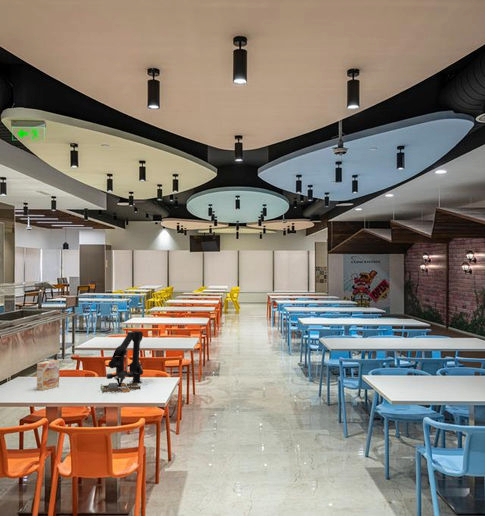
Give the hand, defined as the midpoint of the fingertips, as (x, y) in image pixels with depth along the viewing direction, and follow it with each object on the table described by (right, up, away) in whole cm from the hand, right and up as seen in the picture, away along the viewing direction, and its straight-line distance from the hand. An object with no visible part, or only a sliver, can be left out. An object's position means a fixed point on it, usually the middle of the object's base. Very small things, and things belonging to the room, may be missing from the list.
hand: (119, 387), depth 356 cm
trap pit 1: (-1, -2, +10) cm, 10 cm away
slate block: (-5, -1, -1) cm, 5 cm away
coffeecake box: (-54, -1, +2) cm, 54 cm away
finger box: (0, -1, 0) cm, 1 cm away
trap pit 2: (+6, -1, -7) cm, 9 cm away
